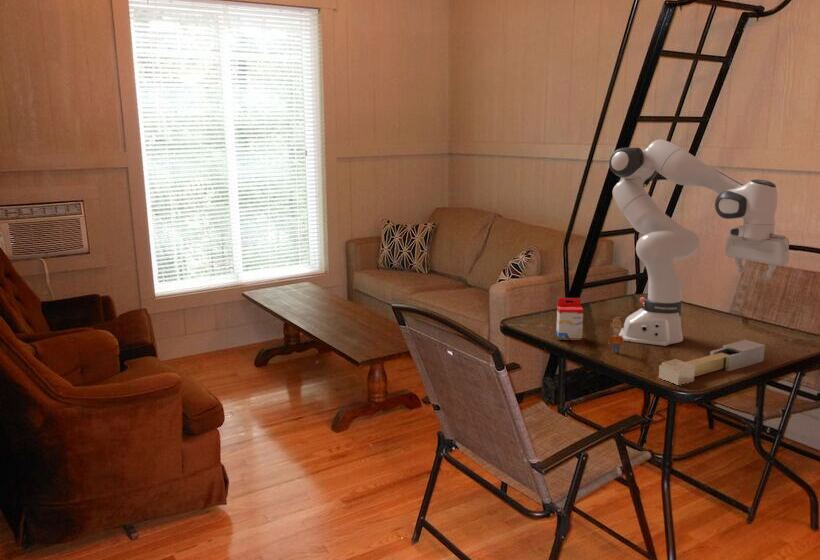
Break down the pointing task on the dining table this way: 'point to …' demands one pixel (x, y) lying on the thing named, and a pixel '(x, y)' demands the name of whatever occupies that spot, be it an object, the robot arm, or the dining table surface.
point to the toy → (616, 333)
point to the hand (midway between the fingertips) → (754, 274)
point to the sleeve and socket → (738, 354)
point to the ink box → (569, 318)
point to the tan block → (709, 363)
